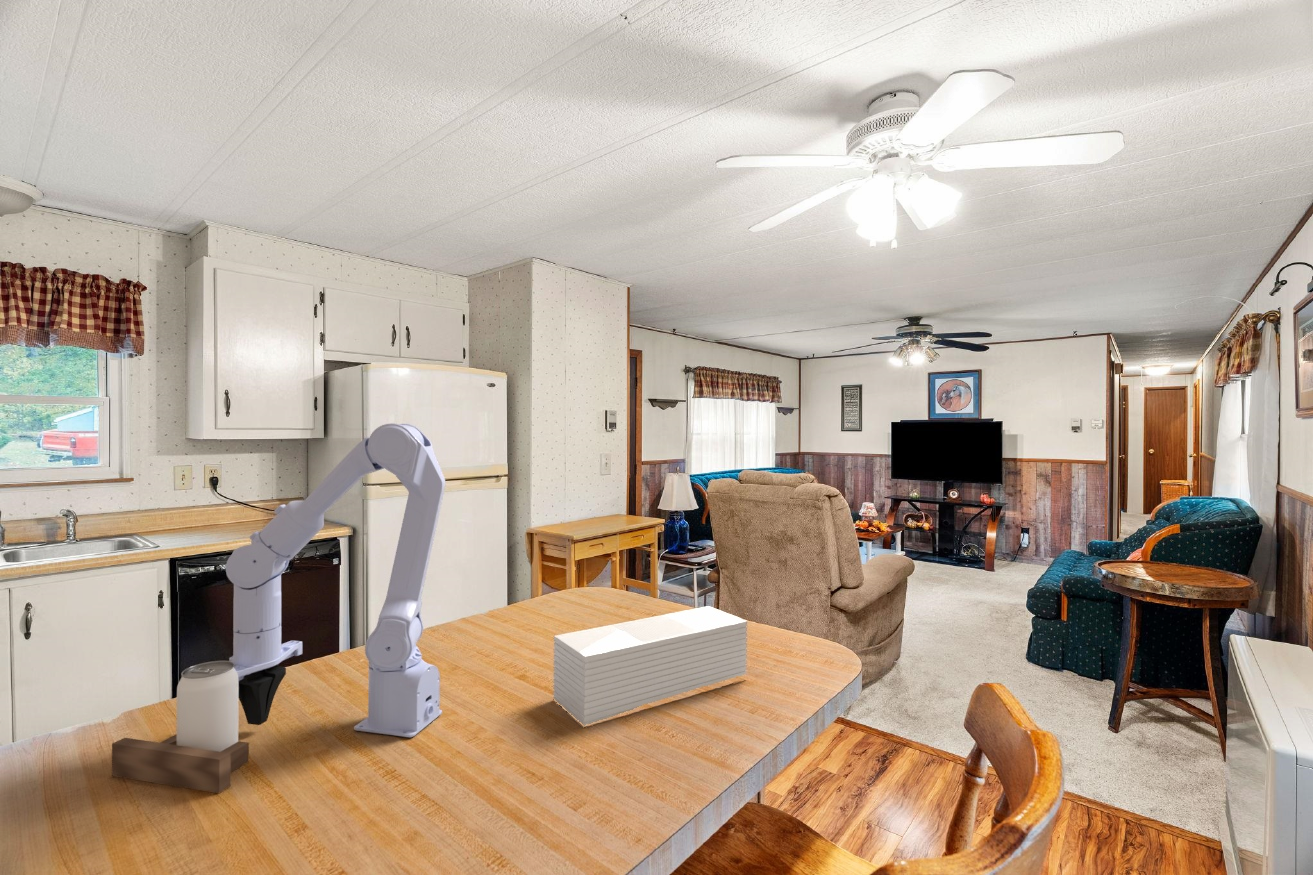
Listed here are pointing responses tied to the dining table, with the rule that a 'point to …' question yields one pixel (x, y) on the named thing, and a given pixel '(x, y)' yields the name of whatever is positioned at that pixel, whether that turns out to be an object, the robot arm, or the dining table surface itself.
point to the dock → (177, 763)
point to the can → (208, 706)
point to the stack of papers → (646, 661)
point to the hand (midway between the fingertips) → (257, 722)
